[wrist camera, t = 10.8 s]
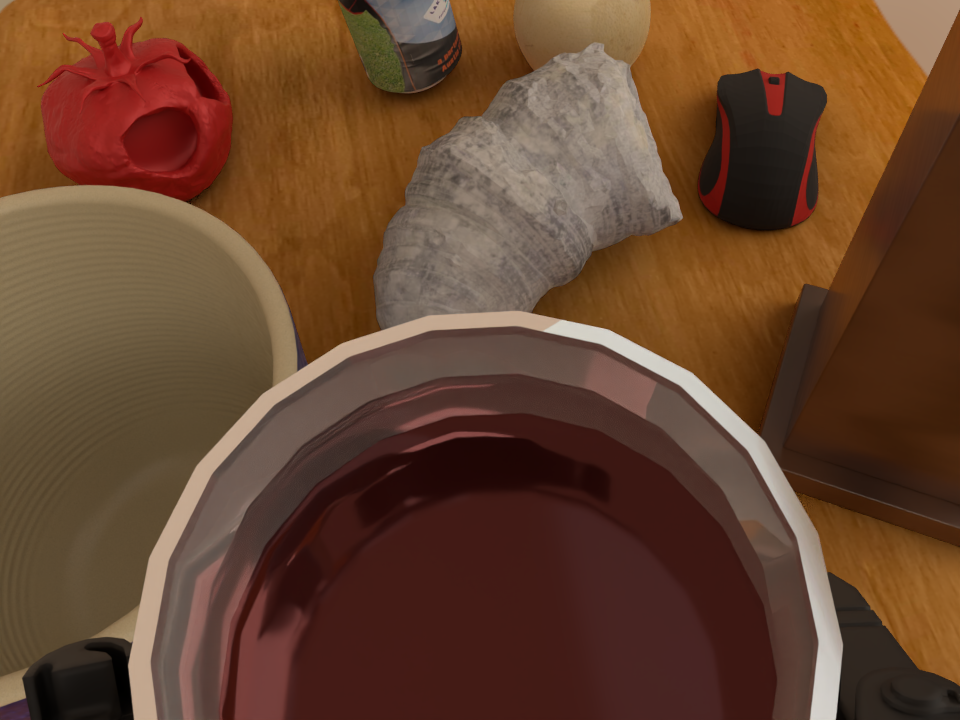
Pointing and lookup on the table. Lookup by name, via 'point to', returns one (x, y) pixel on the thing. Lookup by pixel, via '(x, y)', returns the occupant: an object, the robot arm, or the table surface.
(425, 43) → the beverage can
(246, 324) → the planter
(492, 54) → the table surface
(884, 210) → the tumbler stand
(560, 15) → the apple
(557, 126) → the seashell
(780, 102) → the computer mouse
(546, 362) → the wineglass
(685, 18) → the table surface
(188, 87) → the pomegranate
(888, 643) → the robot arm
